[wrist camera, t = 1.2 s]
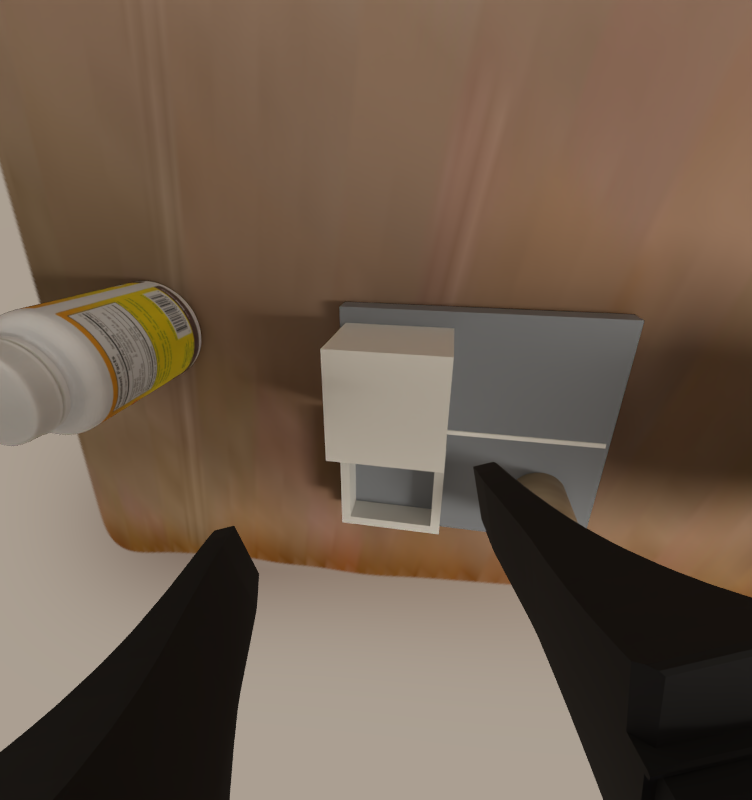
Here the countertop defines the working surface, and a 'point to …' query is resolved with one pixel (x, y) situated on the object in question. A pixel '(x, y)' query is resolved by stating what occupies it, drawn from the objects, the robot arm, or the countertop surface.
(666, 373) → the countertop surface
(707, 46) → the countertop surface
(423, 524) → the board
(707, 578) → the countertop surface
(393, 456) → the cover
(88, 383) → the supplement bottle
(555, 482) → the loose pin
